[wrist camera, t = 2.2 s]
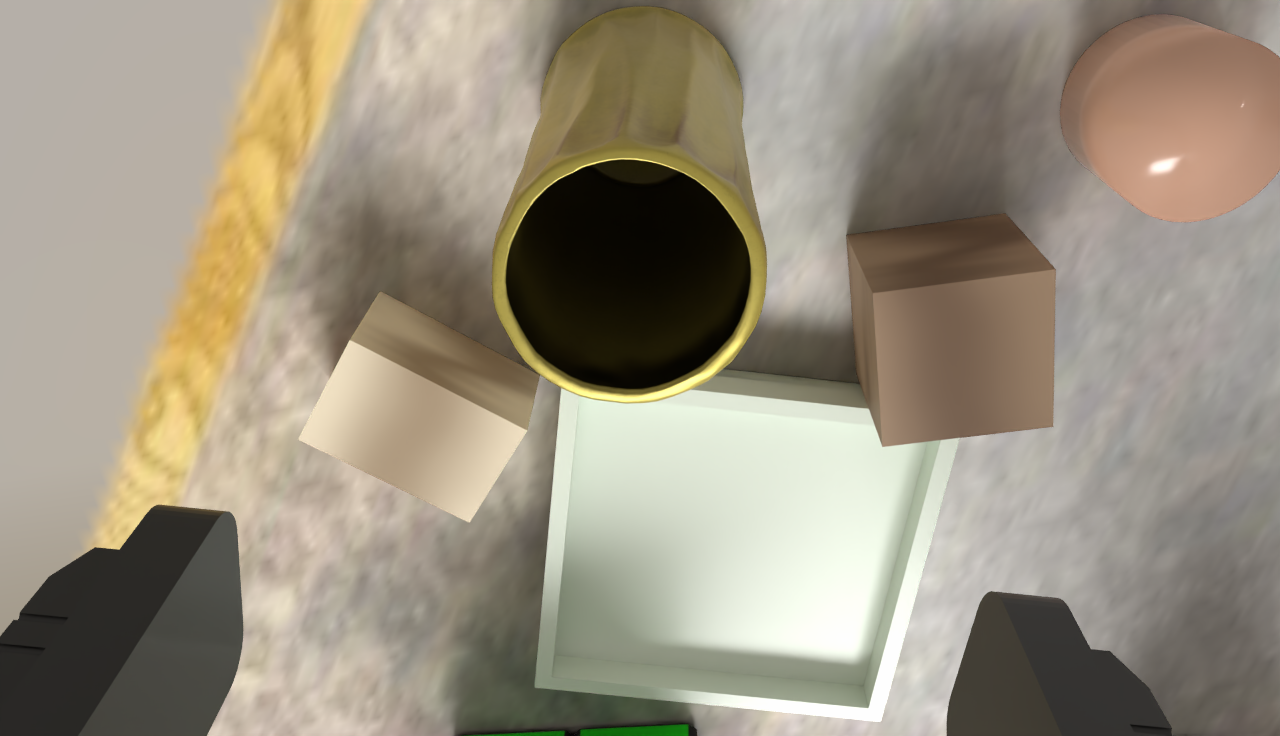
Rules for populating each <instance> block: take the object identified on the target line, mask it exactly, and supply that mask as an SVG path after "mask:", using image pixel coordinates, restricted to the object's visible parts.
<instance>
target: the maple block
mask: <svg viewBox="0 0 1280 736" xmlns="http://www.w3.org/2000/svg"><path fill="white" fill-rule="evenodd" d="M539 377H540V375H539V374H537V373H535V372H533V371H531V370H529V369H527V368H526V367H524V366H522V365H520V364H518V363H516V362H514V361H512V360H510V359H508V358H507V357H505V356H503V355H501V354H499V353H497V352H495V351H493V350H491V349H489V348H488V347H486V346H484V345H482V344H480V343H478V342H476V341H474V340H472V339H470V338H469V337H467V336H465V335H463V334H461V333H459V332H457V331H455V330H453V329H451V328H450V327H448V326H446V325H444V324H442V323H440V322H438V321H436V320H434V319H432V318H431V317H429V316H427V315H425V314H423V313H421V312H419V311H417V310H415V309H413V308H411V307H410V306H408V305H406V304H404V303H402V302H400V301H398V300H396V299H394V298H392V297H391V296H389V295H387V294H385V293H383V292H381V291H380V292H379V293H378V295H377V297H376V298H375V300H374V301H373V303H372V305H371V306H370V308H369V310H368V311H367V313H366V314H365V316H364V318H363V319H362V321H361V322H360V324H359V326H358V327H357V329H356V331H355V332H354V334H353V335H352V337H351V339H350V340H349V342H348V344H347V346H346V348H345V350H344V352H343V354H342V356H341V358H340V360H339V362H338V363H337V365H336V367H335V369H334V371H333V373H332V375H331V377H330V379H329V381H328V383H327V385H326V387H325V388H324V390H323V392H322V394H321V396H320V398H319V400H318V402H317V404H316V406H315V408H314V410H313V411H312V413H311V415H310V417H309V419H308V421H307V423H306V425H305V427H304V429H303V431H302V433H301V435H300V436H299V438H298V440H300V441H302V442H304V443H306V444H308V445H310V446H312V447H314V448H316V449H319V450H321V451H323V452H325V453H327V454H329V455H331V456H333V457H335V458H337V459H339V460H341V461H343V462H345V463H347V464H349V465H351V466H354V467H356V468H358V469H360V470H362V471H364V472H366V473H368V474H370V475H372V476H374V477H376V478H378V479H380V480H382V481H384V482H386V483H389V484H391V485H393V486H395V487H397V488H399V489H401V490H403V491H405V492H407V493H409V494H411V495H413V496H415V497H417V498H419V499H421V500H424V501H426V502H428V503H430V504H432V505H434V506H436V507H438V508H440V509H442V510H444V511H446V512H448V513H450V514H452V515H454V516H456V517H459V518H461V519H463V520H465V521H467V522H469V523H470V521H471V520H472V518H473V516H474V515H475V513H476V512H477V510H478V508H479V507H480V505H481V504H482V502H483V501H484V499H485V497H486V496H487V494H488V493H489V491H490V489H491V488H492V486H493V485H494V483H495V481H496V480H497V478H498V477H499V475H500V473H501V472H502V470H503V469H504V467H505V465H506V464H507V462H508V461H509V459H510V458H511V456H512V454H513V453H514V451H515V450H516V448H517V446H518V445H519V443H520V442H521V440H522V438H523V437H524V435H525V434H526V432H527V430H528V426H529V421H530V417H531V412H532V408H533V403H534V399H535V395H536V390H537V386H538V381H539Z"/></svg>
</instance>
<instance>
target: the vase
mask: <svg viewBox="0 0 1280 736" xmlns="http://www.w3.org/2000/svg"><path fill="white" fill-rule="evenodd" d="M540 101H541V116H540V119H539V121H538V123H537V125H536V127H535V130H534V132H533V135H532V138H531V142H530V145H529V148H528V151H527V155H526V158H525V162H524V166H523V169H522V171H521V173H520V175H519V177H518V179H517V181H516V184H515V186H514V189H513V192H512V194H511V197H510V200H509V202H508V204H507V207H506V209H505V211H504V214H503V217H502V220H501V223H500V226H499V229H498V231H497V233H496V238H495V243H494V248H493V263H492V294H493V301H494V305H495V309H496V312H497V314H498V316H499V319H500V321H501V323H502V325H503V327H504V328H505V330H506V332H507V334H508V336H509V337H510V339H511V341H512V343H513V345H514V346H515V348H516V350H517V351H518V352H519V354H520V355H521V356H522V358H523V359H524V360H525V362H526V363H527V364H528V365H529V366H531V367H532V368H533V369H534V370H535V371H536V372H537V373H539V374H540V375H541V376H543V377H544V378H546V379H547V380H548V381H550V382H552V383H553V384H555V385H557V386H559V387H561V388H562V389H564V390H566V391H569V392H571V393H573V394H576V395H578V396H581V397H585V398H589V399H593V400H600V401H608V402H616V403H625V404H630V403H649V402H657V401H660V400H664V399H667V398H670V397H673V396H676V395H678V394H681V393H684V392H686V391H689V390H691V389H693V388H695V387H697V386H699V385H701V384H703V383H705V382H707V381H709V380H710V379H711V378H712V377H714V376H715V375H716V374H717V373H719V372H720V371H721V370H722V369H724V368H725V367H726V366H727V365H728V364H730V363H731V362H732V361H733V360H734V358H735V357H736V355H737V354H738V353H739V351H740V350H741V348H742V347H743V346H744V344H745V343H746V341H747V340H748V338H749V336H750V335H751V333H752V331H753V330H754V328H755V327H756V324H757V322H758V319H759V316H760V314H761V311H762V307H763V302H764V298H765V290H766V278H767V255H766V245H765V241H764V237H763V233H762V230H761V225H760V221H759V216H758V212H757V208H756V203H755V199H754V195H753V191H752V186H751V180H750V173H749V166H748V160H747V156H746V150H745V142H744V135H743V129H742V116H743V93H742V88H741V84H740V80H739V77H738V74H737V71H736V69H735V67H734V65H733V63H732V61H731V59H730V57H729V55H728V54H727V52H726V51H725V49H724V48H723V46H722V45H721V44H720V43H719V41H718V40H717V39H716V38H715V37H714V36H713V35H712V34H711V33H710V32H709V31H708V30H706V29H705V28H704V27H703V26H701V25H700V24H698V23H697V22H695V21H693V20H692V19H690V18H688V17H686V16H684V15H682V14H680V13H677V12H674V11H671V10H668V9H664V8H659V7H650V6H636V7H626V8H621V9H616V10H613V11H609V12H606V13H604V14H602V15H600V16H597V17H596V18H594V19H592V20H590V21H588V22H587V23H585V24H584V25H583V26H581V27H580V28H579V29H578V30H576V31H575V32H574V33H573V34H572V35H571V36H570V37H569V38H568V39H567V40H566V41H565V42H564V43H563V44H562V45H561V47H560V48H559V50H558V51H557V53H556V55H555V57H554V59H553V61H552V63H551V65H550V68H549V71H548V73H547V76H546V79H545V82H544V85H543V89H542V94H541V100H540Z"/></svg>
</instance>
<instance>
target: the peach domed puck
mask: <svg viewBox="0 0 1280 736" xmlns="http://www.w3.org/2000/svg"><path fill="white" fill-rule="evenodd" d="M1060 123H1061V128H1062V133H1063V136H1064V139H1065V142H1066V144H1067V146H1068V148H1069V150H1070V152H1071V153H1072V154H1073V156H1074V157H1075V158H1076V159H1077V160H1078V161H1079V162H1080V163H1081V164H1082V165H1083V166H1084V167H1085V168H1086V169H1088V170H1089V171H1090V172H1091V173H1093V174H1094V175H1095V176H1097V177H1098V178H1099V179H1100V180H1102V181H1103V182H1104V183H1105V184H1107V185H1108V186H1109V187H1110V188H1112V189H1113V190H1114V191H1115V192H1117V193H1118V194H1119V195H1120V196H1122V197H1123V198H1124V199H1126V200H1127V201H1128V202H1129V203H1131V204H1132V205H1133V206H1135V207H1136V208H1137V209H1139V210H1140V211H1142V212H1144V213H1146V214H1148V215H1150V216H1152V217H1155V218H1158V219H1161V220H1166V221H1172V222H1195V221H1201V220H1206V219H1210V218H1214V217H1217V216H1220V215H1223V214H1225V213H1227V212H1229V211H1232V210H1234V209H1236V208H1237V207H1239V206H1241V205H1243V204H1244V203H1246V202H1247V201H1249V200H1250V199H1251V198H1253V197H1254V196H1255V195H1257V194H1258V193H1259V192H1260V191H1261V190H1262V189H1263V188H1265V187H1266V186H1267V184H1268V183H1269V182H1270V181H1271V180H1272V179H1273V178H1274V177H1275V176H1276V174H1277V173H1278V172H1279V170H1280V58H1279V57H1278V56H1277V55H1276V54H1275V53H1273V52H1272V51H1271V50H1269V49H1268V48H1266V47H1264V46H1262V45H1260V44H1258V43H1255V42H1253V41H1250V40H1247V39H1244V38H1241V37H1238V36H1236V35H1233V34H1230V33H1227V32H1224V31H1221V30H1219V29H1216V28H1213V27H1210V26H1207V25H1205V24H1202V23H1199V22H1196V21H1193V20H1190V19H1188V18H1185V17H1181V16H1176V15H1168V14H1156V15H1147V16H1143V17H1138V18H1135V19H1132V20H1129V21H1126V22H1124V23H1122V24H1120V25H1118V26H1116V27H1114V28H1113V29H1111V30H1109V31H1108V32H1106V33H1105V34H1103V35H1102V36H1101V37H1100V38H1098V39H1097V40H1096V41H1095V42H1094V43H1093V44H1092V45H1091V46H1090V47H1089V48H1088V49H1087V50H1086V51H1085V52H1084V53H1083V55H1082V56H1081V57H1080V58H1079V60H1078V61H1077V63H1076V64H1075V66H1074V67H1073V69H1072V71H1071V73H1070V75H1069V77H1068V79H1067V82H1066V85H1065V87H1064V90H1063V95H1062V99H1061V107H1060Z"/></svg>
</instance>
